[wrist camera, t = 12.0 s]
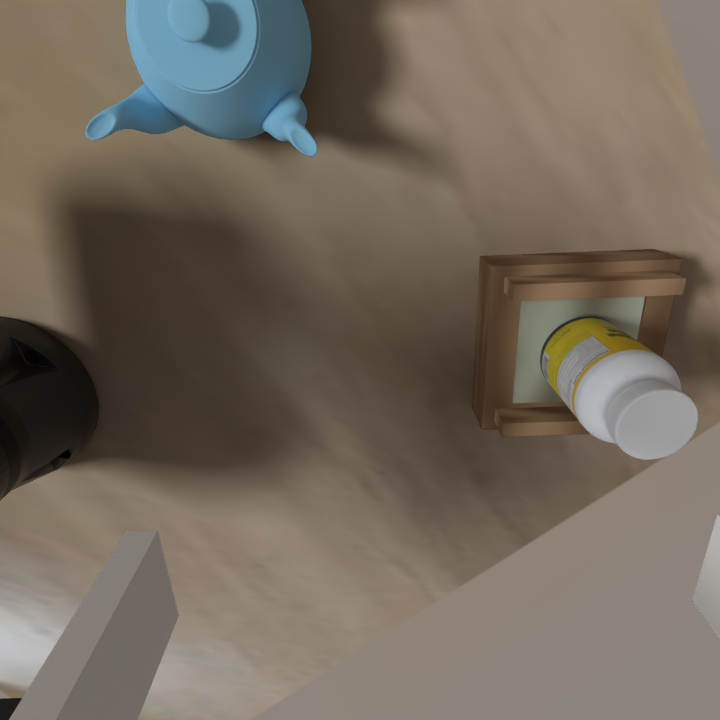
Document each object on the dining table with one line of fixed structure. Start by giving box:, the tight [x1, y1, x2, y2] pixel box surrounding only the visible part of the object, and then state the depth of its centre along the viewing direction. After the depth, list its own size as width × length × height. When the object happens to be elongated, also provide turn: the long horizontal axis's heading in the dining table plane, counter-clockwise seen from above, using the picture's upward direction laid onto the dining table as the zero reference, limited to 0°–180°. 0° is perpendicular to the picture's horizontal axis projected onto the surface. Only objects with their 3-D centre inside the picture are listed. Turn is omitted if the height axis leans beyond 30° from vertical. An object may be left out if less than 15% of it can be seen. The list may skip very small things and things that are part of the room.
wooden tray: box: [472, 249, 687, 437], centre depth 40 cm, size 14×14×6 cm
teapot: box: [85, 0, 317, 156], centre depth 31 cm, size 13×13×10 cm
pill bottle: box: [539, 316, 698, 460], centre depth 34 cm, size 6×6×12 cm
